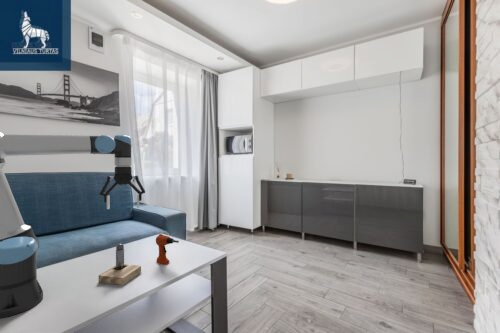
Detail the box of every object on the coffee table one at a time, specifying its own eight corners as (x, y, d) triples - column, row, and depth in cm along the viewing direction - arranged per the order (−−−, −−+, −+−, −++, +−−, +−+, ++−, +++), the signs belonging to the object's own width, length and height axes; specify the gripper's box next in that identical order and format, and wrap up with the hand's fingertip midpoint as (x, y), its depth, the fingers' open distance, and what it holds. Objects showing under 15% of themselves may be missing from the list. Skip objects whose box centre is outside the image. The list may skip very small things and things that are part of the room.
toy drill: (176, 268, 112) (173, 236, 113) (154, 263, 123) (152, 234, 124) (184, 265, 116) (182, 234, 117) (162, 260, 127) (160, 232, 128)
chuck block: (98, 282, 102) (98, 275, 102) (118, 269, 114) (118, 263, 114) (123, 284, 100) (122, 277, 100) (141, 272, 112) (141, 265, 112)
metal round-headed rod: (114, 274, 109) (114, 244, 109) (119, 271, 112) (119, 242, 112) (120, 274, 108) (120, 245, 108) (125, 271, 111) (125, 242, 111)
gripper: (150, 166, 127) (150, 205, 127) (96, 166, 119) (97, 208, 119) (149, 166, 120) (149, 207, 120) (92, 166, 112) (92, 211, 112)
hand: (123, 208), depth 120 cm, fingers open, 13 cm apart
